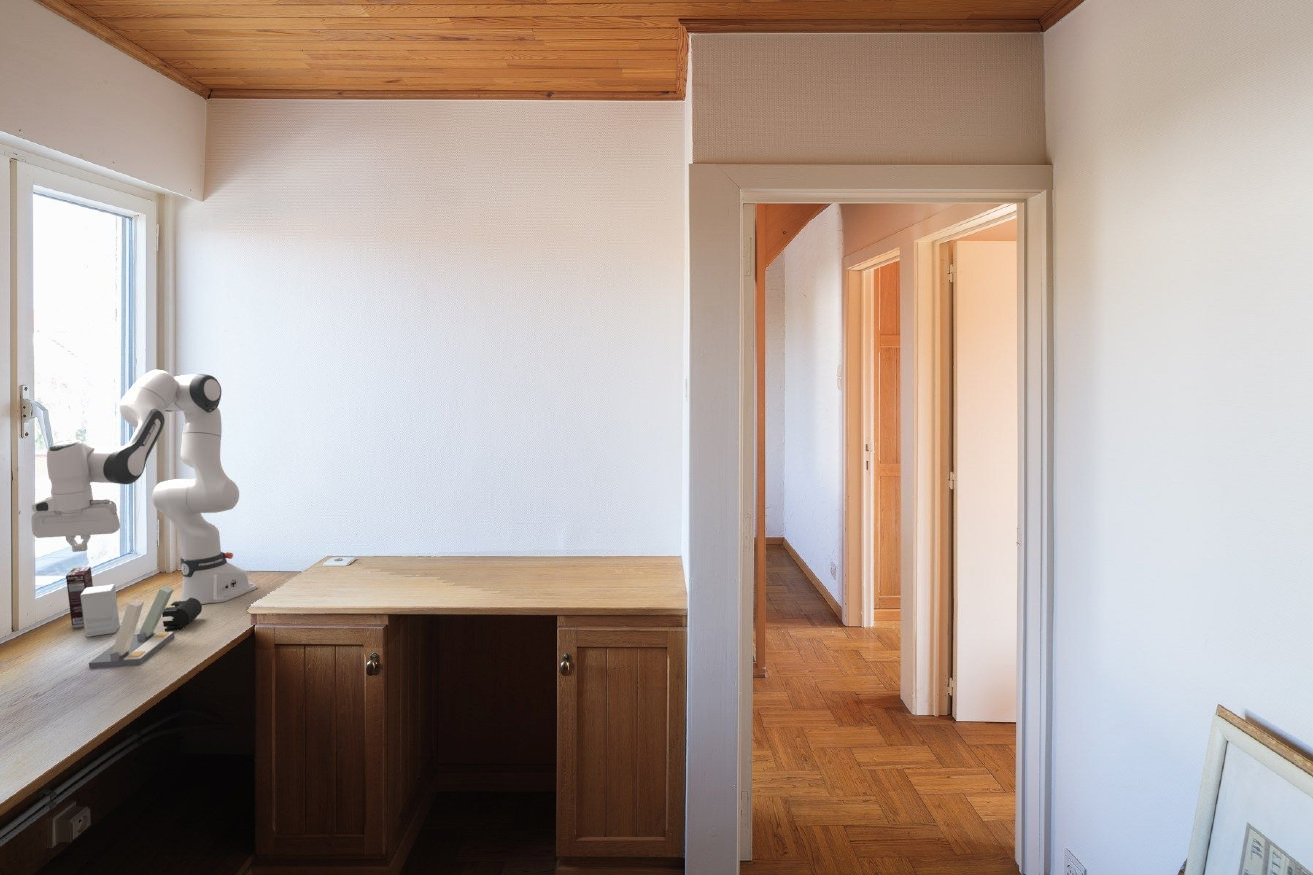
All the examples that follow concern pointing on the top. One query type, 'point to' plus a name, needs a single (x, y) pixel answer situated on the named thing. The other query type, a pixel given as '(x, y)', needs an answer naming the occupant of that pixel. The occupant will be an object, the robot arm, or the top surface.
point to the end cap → (181, 614)
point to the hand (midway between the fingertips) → (80, 550)
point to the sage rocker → (156, 610)
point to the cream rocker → (128, 627)
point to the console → (133, 651)
